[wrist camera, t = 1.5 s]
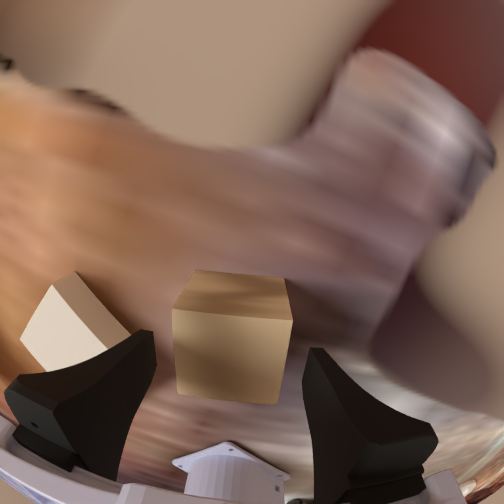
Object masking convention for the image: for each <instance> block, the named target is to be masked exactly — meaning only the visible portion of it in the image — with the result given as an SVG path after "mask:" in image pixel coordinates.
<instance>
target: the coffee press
mask: <svg viewBox="0 0 504 504" xmlns="http://www.w3.org/2000/svg"><path fill="white" fill-rule="evenodd" d="M287 504H303V503H302V502H301V500H299V499H295V500H292V501H289V502H287Z"/></svg>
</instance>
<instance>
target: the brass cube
mask: <svg viewBox="0 0 504 504" xmlns="http://www.w3.org/2000/svg"><path fill="white" fill-rule="evenodd" d="M292 323H293V318H292V313H291V309H290V304H289V299H288V295H287V290H286V285H285V281H284V278H278V277H267V276H255V275H244V274H233V273H223V272H212V271H202V270H196V271H195V273H194V274H193V276H192V277H191V279H190V280H189V282H188V284H187V285H186V287H185V288H184V290H183V291H182V293H181V295H180V296H179V298H178V299H177V301H176V302H175V304H174V306H173V307H172V326H173V344H174V358H175V370H176V381H177V391H178V394H183V395H189V396H196V397H202V398H210V399H218V400H227V401H237V402H248V403H263V404H277V402H278V397H279V392H280V387H281V382H282V377H283V372H284V367H285V362H286V357H287V351H288V346H289V340H290V335H291V329H292Z"/></svg>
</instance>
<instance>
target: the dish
mask: <svg viewBox="0 0 504 504" xmlns="http://www.w3.org/2000/svg"><path fill="white" fill-rule="evenodd" d="M475 486H476V481H475V480H470V481H467V482H464V483H462V484H460V485H459V487H460V489H461V491H462V494H463V496H464V497H465V496H466V495H467V494H468V493H470V492H471V491H472V490H473V488H474V487H475Z"/></svg>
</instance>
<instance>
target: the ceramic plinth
mask: <svg viewBox="0 0 504 504" xmlns="http://www.w3.org/2000/svg"><path fill="white" fill-rule="evenodd" d="M129 336H131V334H130V333H129V332H128V331H127V330H126V329H125V328H124V327H123V326H122V325H121V324H120V323H119V322H118V321H117V320H116V319H115V317H114V316H113V315H112V314H111V313H110V312H109V311H108V310H107V309H106V308H105V306H104V305H103V304H102V303H101V302H100V301H99V300H98V299H97V297H96V296H95V295H94V294H93V293H92V292H91V290H90V289H89V288H88V287H87V286H86V284H85V283H84V282H83V281H82V280H81V278H80V277H79V276H78V275H77V273H76V272H75V271H73V272H71V273H70V274H68V275H66V276H65V277H63V278H61V279H60V280H58V281H57V282H55V283H53V284H52V285H51V287H50V288H49V290H48V291H47V293H46V294H45V296H44V298H43V299H42V301H41V303H40V304H39V306H38V308H37V309H36V311H35V313H34V314H33V316H32V318H31V320H30V321H29V323H28V325H27V327H26V329H25V331H24V332H23V334H22V336H21V338H20V340H21V342H22V343H23V344H24V345H25V347H26V348H27V349H28V350H29V351H30V353H31V354H32V355H33V356H34V357H35V359H36V360H37V361H38V362H39V363H40V364H41V365H42V367H43V368H44V369H45V370H46V371H47V372H49V371H54V370H59V369H62V368H66V367H69V366H72V365H75V364H78V363H81V362H83V361H86V360H88V359H90V358H93V357H95V356H97V355H98V354H100V353H102V352H104V351H106V350H108V349H110V348H111V347H113V346H115V345H116V344H118V343H120V342H121V341H123V340H125V339H126V338H128V337H129Z"/></svg>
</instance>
